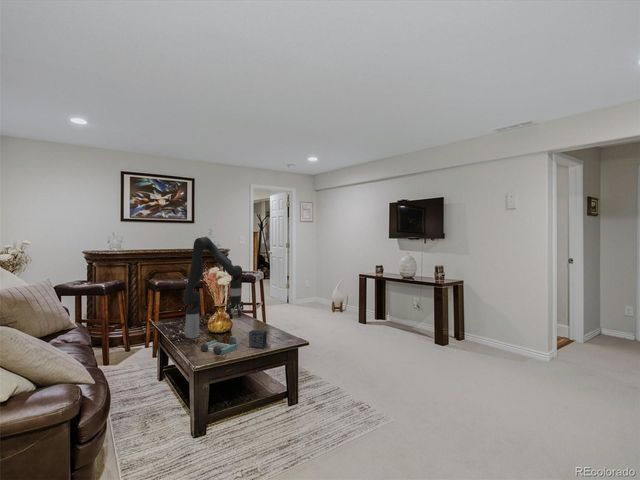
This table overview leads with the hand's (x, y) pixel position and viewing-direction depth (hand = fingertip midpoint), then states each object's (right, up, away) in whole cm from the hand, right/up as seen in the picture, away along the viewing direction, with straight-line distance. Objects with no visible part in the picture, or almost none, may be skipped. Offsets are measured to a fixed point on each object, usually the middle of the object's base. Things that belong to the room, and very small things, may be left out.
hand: (235, 318), depth 244 cm
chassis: (-8, -18, -12) cm, 23 cm away
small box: (+17, -18, -6) cm, 26 cm away
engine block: (0, -18, 0) cm, 18 cm away
